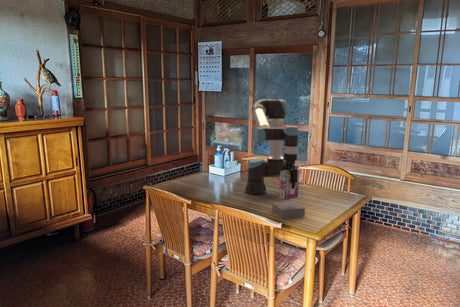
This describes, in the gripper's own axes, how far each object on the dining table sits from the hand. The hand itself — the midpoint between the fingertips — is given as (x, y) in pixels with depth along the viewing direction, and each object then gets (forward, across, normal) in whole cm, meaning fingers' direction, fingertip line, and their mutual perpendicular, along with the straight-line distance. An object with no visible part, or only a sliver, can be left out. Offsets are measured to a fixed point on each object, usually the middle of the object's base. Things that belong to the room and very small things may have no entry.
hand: (288, 192), depth 204 cm
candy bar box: (+4, 0, 0) cm, 4 cm away
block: (+13, 0, 0) cm, 13 cm away
